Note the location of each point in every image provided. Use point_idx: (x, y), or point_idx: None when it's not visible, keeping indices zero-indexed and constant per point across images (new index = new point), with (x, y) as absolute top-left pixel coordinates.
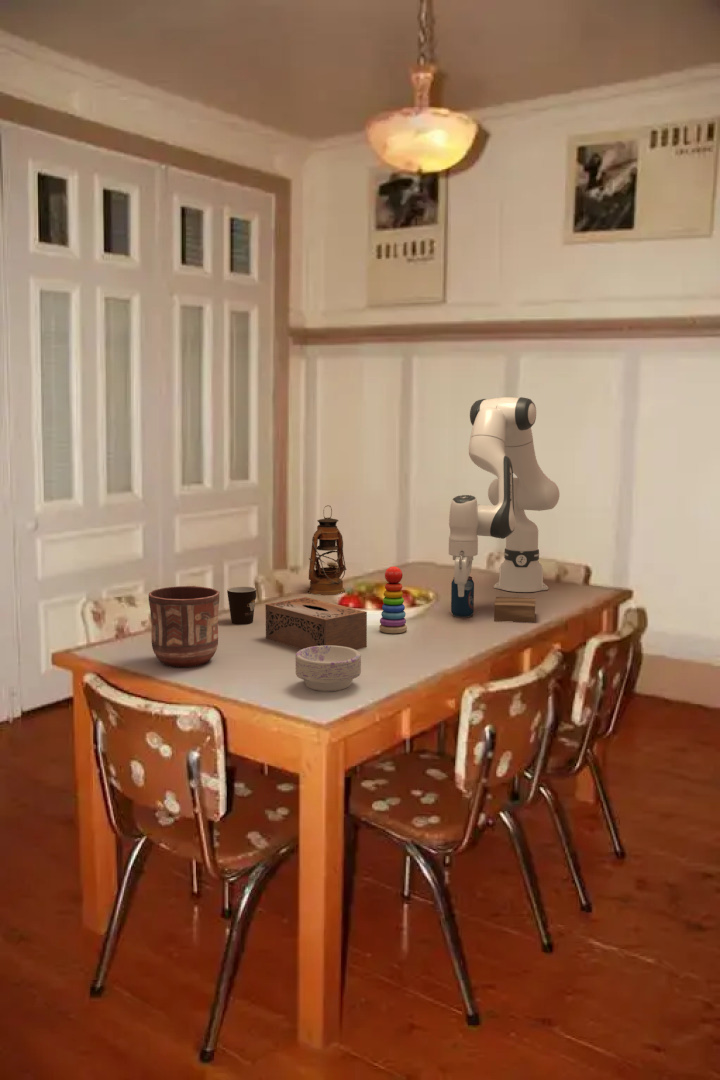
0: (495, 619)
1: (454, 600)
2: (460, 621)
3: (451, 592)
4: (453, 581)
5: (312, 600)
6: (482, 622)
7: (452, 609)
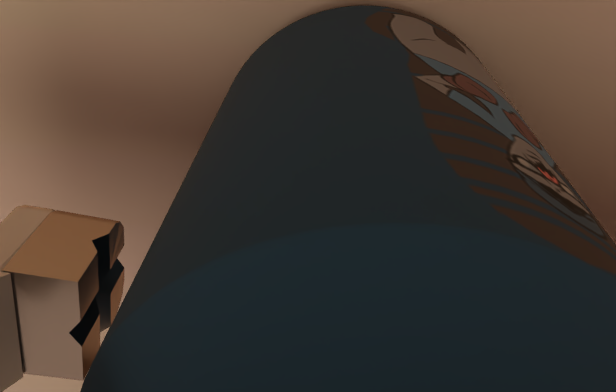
0: None
1: (236, 101)
2: (55, 81)
3: (363, 101)
4: (263, 322)
5: None
6: None
7: (298, 29)
